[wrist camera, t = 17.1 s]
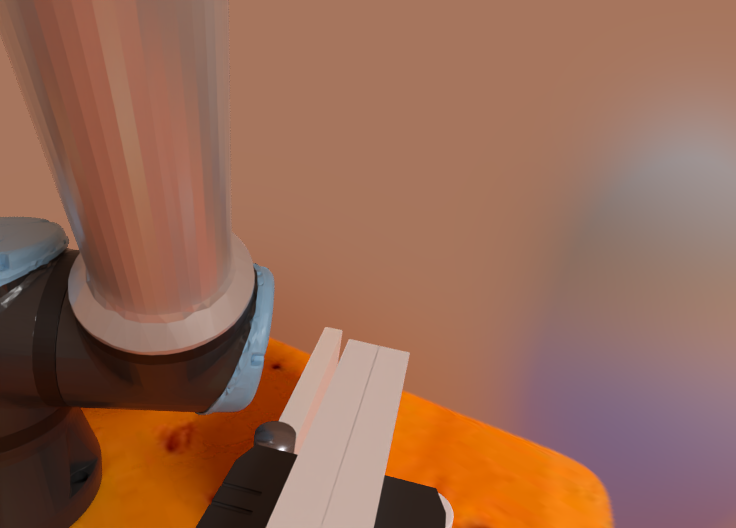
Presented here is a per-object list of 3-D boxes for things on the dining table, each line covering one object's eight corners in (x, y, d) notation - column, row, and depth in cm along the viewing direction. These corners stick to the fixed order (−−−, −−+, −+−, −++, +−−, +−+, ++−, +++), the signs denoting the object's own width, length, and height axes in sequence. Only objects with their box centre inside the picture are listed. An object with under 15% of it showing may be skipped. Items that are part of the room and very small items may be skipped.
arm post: (210, 547, 42) (217, 427, 38) (272, 511, 46) (284, 399, 42) (251, 604, 38) (264, 477, 34) (314, 559, 42) (333, 442, 38)
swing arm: (285, 512, 43) (293, 445, 41) (262, 506, 43) (269, 439, 41) (334, 382, 62) (342, 330, 59) (318, 378, 62) (325, 326, 59)
